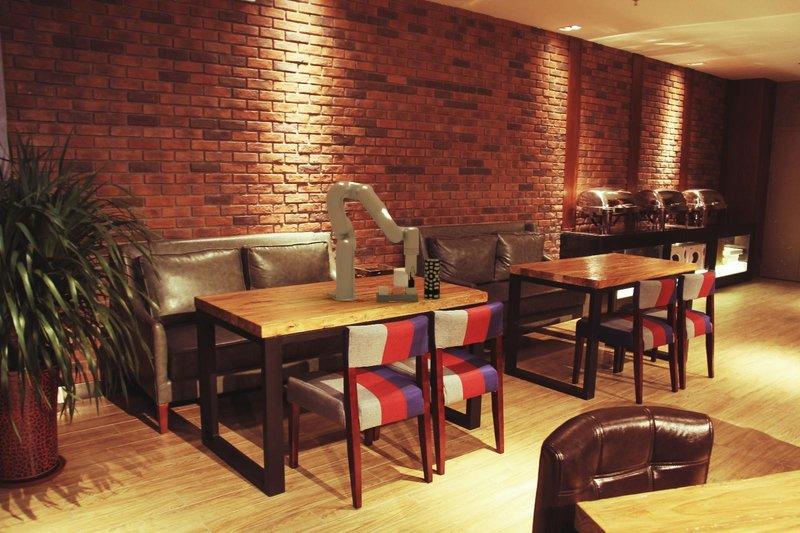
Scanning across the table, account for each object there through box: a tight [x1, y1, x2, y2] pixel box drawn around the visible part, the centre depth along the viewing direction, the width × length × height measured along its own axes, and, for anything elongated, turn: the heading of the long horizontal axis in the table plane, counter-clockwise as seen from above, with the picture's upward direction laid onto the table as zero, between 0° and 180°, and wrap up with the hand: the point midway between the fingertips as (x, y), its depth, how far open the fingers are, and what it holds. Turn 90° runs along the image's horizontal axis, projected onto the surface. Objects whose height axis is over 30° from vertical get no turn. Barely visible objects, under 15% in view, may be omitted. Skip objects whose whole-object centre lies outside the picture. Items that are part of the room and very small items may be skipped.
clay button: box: [391, 285, 403, 295], centre depth 328 cm, size 5×5×5 cm
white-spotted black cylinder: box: [423, 258, 442, 300], centre depth 335 cm, size 8×8×20 cm
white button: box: [377, 285, 389, 295], centre depth 327 cm, size 5×5×5 cm
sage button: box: [404, 286, 417, 295], centre depth 329 cm, size 5×5×5 cm
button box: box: [375, 291, 419, 303], centre depth 328 cm, size 21×7×4 cm, turn 96°
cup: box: [392, 267, 408, 288], centre depth 368 cm, size 10×10×10 cm
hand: (411, 287), depth 328 cm, fingers closed
